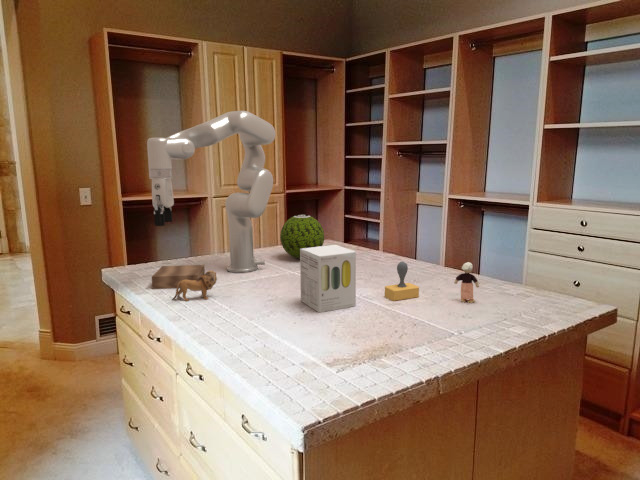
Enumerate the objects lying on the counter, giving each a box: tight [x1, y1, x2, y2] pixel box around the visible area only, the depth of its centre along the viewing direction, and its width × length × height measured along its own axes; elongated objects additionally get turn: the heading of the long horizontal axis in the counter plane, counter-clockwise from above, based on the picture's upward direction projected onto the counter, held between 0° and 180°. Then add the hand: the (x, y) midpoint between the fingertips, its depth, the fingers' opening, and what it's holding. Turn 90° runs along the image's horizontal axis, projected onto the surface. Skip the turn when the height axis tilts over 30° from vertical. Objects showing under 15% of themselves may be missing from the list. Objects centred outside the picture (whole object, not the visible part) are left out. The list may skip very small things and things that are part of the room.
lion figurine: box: [171, 270, 218, 302], centre depth 153 cm, size 15×5×9 cm, turn 111°
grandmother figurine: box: [453, 261, 480, 304], centre depth 148 cm, size 8×4×13 cm, turn 71°
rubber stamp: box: [384, 261, 420, 302], centre depth 153 cm, size 10×6×12 cm, turn 114°
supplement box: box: [299, 244, 357, 313], centre depth 146 cm, size 13×13×18 cm
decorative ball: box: [280, 214, 325, 260], centre depth 210 cm, size 20×20×20 cm
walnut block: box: [151, 264, 206, 290], centre depth 174 cm, size 16×16×5 cm
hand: (163, 223), depth 163 cm, fingers open, 9 cm apart
